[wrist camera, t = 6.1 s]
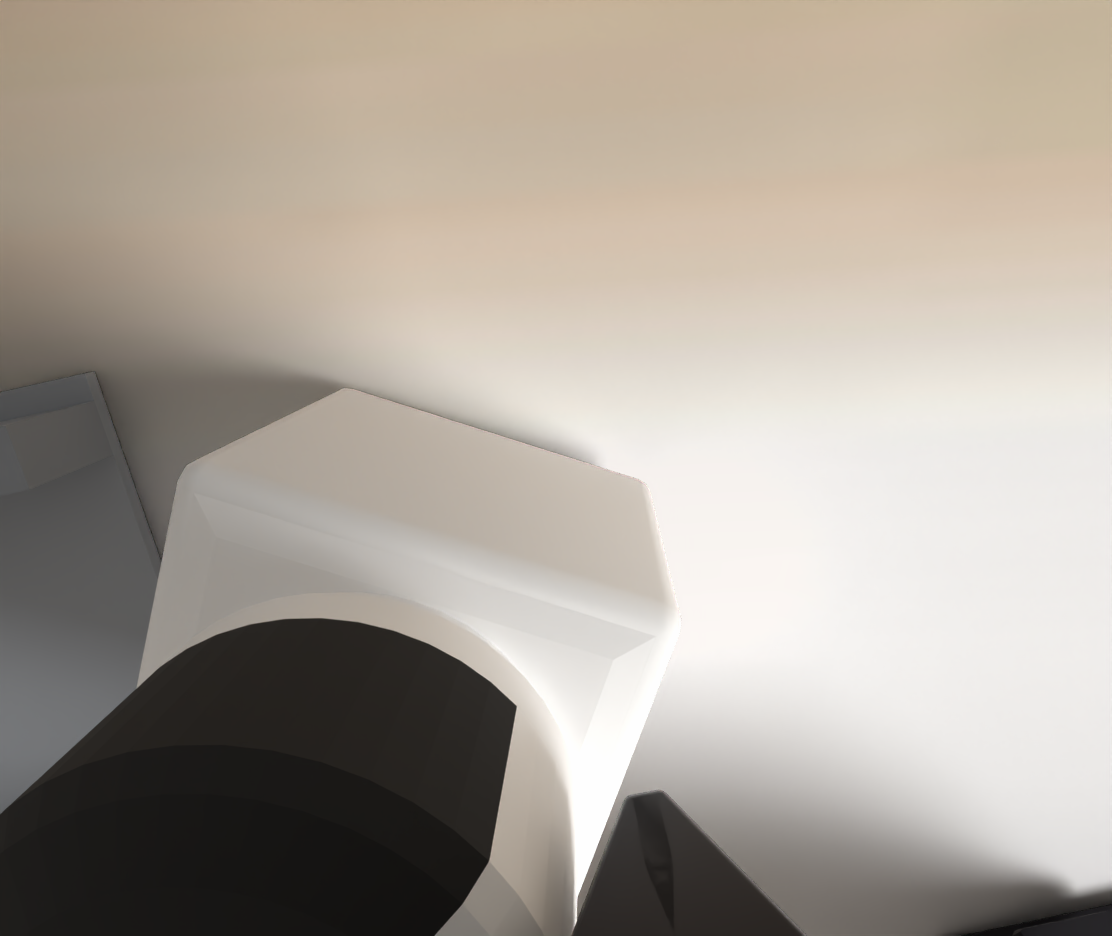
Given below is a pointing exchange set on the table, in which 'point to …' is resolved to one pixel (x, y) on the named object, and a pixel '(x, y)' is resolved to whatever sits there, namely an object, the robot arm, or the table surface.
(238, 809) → the medicine bottle
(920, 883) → the table surface
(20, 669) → the u rest
